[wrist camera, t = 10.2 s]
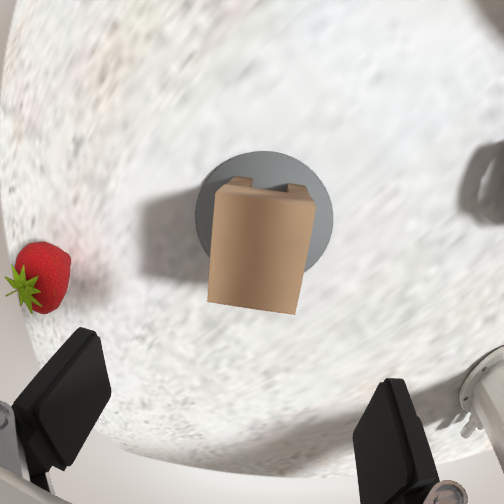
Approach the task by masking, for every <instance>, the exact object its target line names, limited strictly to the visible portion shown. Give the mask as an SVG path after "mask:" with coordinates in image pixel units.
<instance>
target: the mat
mask: <svg viewBox="0 0 504 504" xmlns="http://www.w3.org/2000/svg"><path fill="white" fill-rule="evenodd" d="M235 176H240V177H248V178H253V183H252V188H258V189H265V190H272V191H279V192H287V185H288V183H292V184H298V185H305V186H306V188H307V190H308V192H309V195H310V196H312V198H313V200H314V203H315V205H316V211H315V216H314V222H313V227H312V233H311V238H310V244H309V249H308V254H307V259H306V264H305V269H304V272H306V271H307V270H308V269H310V268H311V267H312V266H313V265H314V264H315V263H316V262H317V261H318V260H319V258H320V257H321V256H322V254H323V253H324V251H325V249H326V248H327V245H328V243H329V241H330V237H331V234H332V228H333V210H332V204H331V201H330V197H329V195H328V193H327V190H326V188H325V187H324V185H323V183H322V182H321V180H320V179H319V178H318V177H317V175H316V174H315V173H314V172H313V171H312V170H311V169H310V168H309V167H308V166H306V165H305V164H303V163H302V162H300V161H299V160H297V159H295V158H293V157H291V156H288V155H285V154H282V153H277V152H270V151H257V152H250V153H245V154H242V155H239V156H236V157H234V158H232V159H230V160H229V161H227V162H225V163H224V164H222V165H221V166H220V167H219V168H217V169H216V170H215V171H214V172H213V173H212V174H211V176H210V177H209V178H208V179H207V181H206V182H205V184H204V186H203V187H202V190H201V192H200V194H199V197H198V201H197V205H196V228H197V232H198V236H199V239H200V241H201V244H202V246H203V248H204V250H205V251H206V253H207V254H208V256H209V257H210V253H211V240H212V228H213V215H214V204H215V193H216V192H217V191H218V190H219V189H220V188H221V187H222V186H223V185H224V184H227V183H228V182H229V181H230V180H231V179H233V178H234V177H235Z"/></svg>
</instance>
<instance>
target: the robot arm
mask: <svg viewBox="0 0 504 504" xmlns="http://www.w3.org/2000/svg"><path fill="white" fill-rule="evenodd" d="M110 397H111V387H110V382H109V378H108V374H107V369H106V365H105V360H104V355H103V350H102V345H101V340H100V337H98V336H97V334H96V332H95V331H93V330H89V329H86V328H82V327H79V328H78V329H77V330H76V331H75V332H74V333H73V334H72V335H71V336H70V337H69V338H68V340H67V341H66V342H65V343H64V344H63V345H62V346H61V347H60V348H59V350H58V351H57V352H56V353H55V354H54V355H53V356H52V357H51V359H50V360H49V361H48V362H47V363H46V364H45V365H44V367H43V368H42V369H41V370H40V371H39V372H38V374H37V375H36V376H35V377H34V379H33V380H32V381H31V382H30V383H29V384H28V386H27V387H26V388H25V389H24V390H23V392H22V393H21V394H20V395H19V397H18V398H17V399H16V400H15V401H14V404H13V405H12V406H10V405H8V404H7V403H6V402H2V401H0V504H72V503H70V502H67V501H65V500H63V499H61V498H59V497H57V496H55V492H54V489H53V485H52V482H51V478H50V474H49V470H50V468H51V467H52V466H54V467H56V468H58V469H60V470H62V471H64V470H65V469H66V467H67V466H71V465H72V464H73V462H74V460H75V458H76V457H77V455H78V453H79V451H80V449H81V448H82V446H83V444H84V442H85V441H86V439H87V437H88V435H89V433H90V431H91V430H92V428H93V427H94V425H95V423H96V421H97V420H98V418H99V416H100V414H101V413H102V411H103V409H104V408H105V406H106V404H107V403H108V401H109V399H110ZM459 402H460V404H461V406H462V408H463V409H464V410H465V411H467V412H470V413H471V415H470V417H469V422H468V423H467V424H466V425H465V426H464V427H463V429H462V430H461V431H460V434H461V436H462V437H464V438H468V437H469V436H470V435H471V434H472V433H473V431H474V430H475V428H476V427H477V428H478V429H479V430H482V429H483V428H484V429H485V431H486V433H487V436H488V438H489V440H490V442H491V444H492V447H493V449H494V451H495V453H496V456H497V458H498V460H499V463H500V465H501V468H502V470H503V473H504V346H503V347H501V348H499V349H497V350H495V351H494V352H492V353H491V354H489V355H488V356H487V357H486V358H484V359H483V360H482V361H481V362H480V363H479V364H478V365H477V366H476V367H475V368H474V369H473V370H472V372H471V373H470V374H469V376H468V377H467V378H466V380H465V382H464V384H463V385H462V387H461V390H460V393H459ZM353 445H354V452H355V460H356V468H357V476H358V485H359V494H360V502H361V504H467V502H468V500H467V499H468V498H467V493H466V491H465V489H464V488H463V487H462V486H461V485H460V484H458V483H457V482H455V481H451V480H444V481H441V482H440V480H439V477H438V473H437V470H436V466H435V463H434V460H433V457H432V453H431V450H430V447H429V444H428V441H427V438H426V435H425V432H424V429H423V426H422V423H421V420H420V418H419V417H418V416H417V415H416V412H415V409H414V406H413V403H412V400H411V398H410V395H409V392H408V389H407V387H406V384H405V382H404V380H403V379H396V378H386V379H385V380H384V382H380V383H379V385H378V387H377V389H376V391H375V393H374V395H373V397H372V398H371V400H370V402H369V404H368V406H367V408H366V410H365V412H364V414H363V416H362V417H361V419H360V421H359V423H358V425H357V426H356V428H355V430H354V433H353Z"/></svg>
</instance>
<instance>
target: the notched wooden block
mask: <svg viewBox="0 0 504 504" xmlns="http://www.w3.org/2000/svg"><path fill="white" fill-rule="evenodd" d="M252 183H253V178H248V177H240V176H235V177H234V178H233V179H231V180H230V181H229V182H228V183H227V184H224V185H223V186H222V187H221V188H220V189H219V190H218V191H217V192H216V193H215V204H214V215H213V228H212V240H211V253H210V268H209V283H208V299H207V302H212V303H218V304H224V305H231V306H237V307H244V308H250V309H257V310H264V311H271V312H278V313H286V314H293V315H295V312H296V307H297V303H298V298H299V293H300V289H301V284H302V279H303V274H304V269H305V264H306V259H307V254H308V249H309V244H310V238H311V233H312V227H313V222H314V216H315V211H316V205H315V203H314V200H313V198H312V196H310V195H309V192H308V190H307V188H306V186H305V185H298V184H292V183H288V185H287V192H279V191H272V190H265V189H258V188H252Z"/></svg>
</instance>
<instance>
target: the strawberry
mask: <svg viewBox="0 0 504 504" xmlns="http://www.w3.org/2000/svg"><path fill="white" fill-rule="evenodd" d="M11 265H12V264H11ZM70 265H71V258H70V256H69V254H68V253H66V252H64V251H63V250H61V249H60V248H59V247H56V246H54V245H52V244H49V243H47V242H37V243H30V244H28V245H27V246H25V247H24V248H23V249H22V250H21V251H20V252H19V254H18V256H17V258H16V263H15V268H14V267H13V265H12V271H13V276H14V280H12V279H9V278H7V277H5V278H6V279H7V281H8V282H9V283H10V284H11V286H12V287H13V288H17V290H15V291H13V292H11V293H10V294H12V293H14V292H16V291H18V292H19V301H20V306H22V303H23V301H24V302H25V303H26V305H27V307H28V309H29V310H30V312H31V314H33V312H32V310H34V311H36V312H38V313H40V314H48V313H50V312H52V311H54V310H55V309H57V308H58V307H59V305H60V303H61V301H62V299H63V298H64V296H65V294H66V292H67V288H68V282H69V277H70ZM10 294H7V295H6V296H8V295H10Z"/></svg>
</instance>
